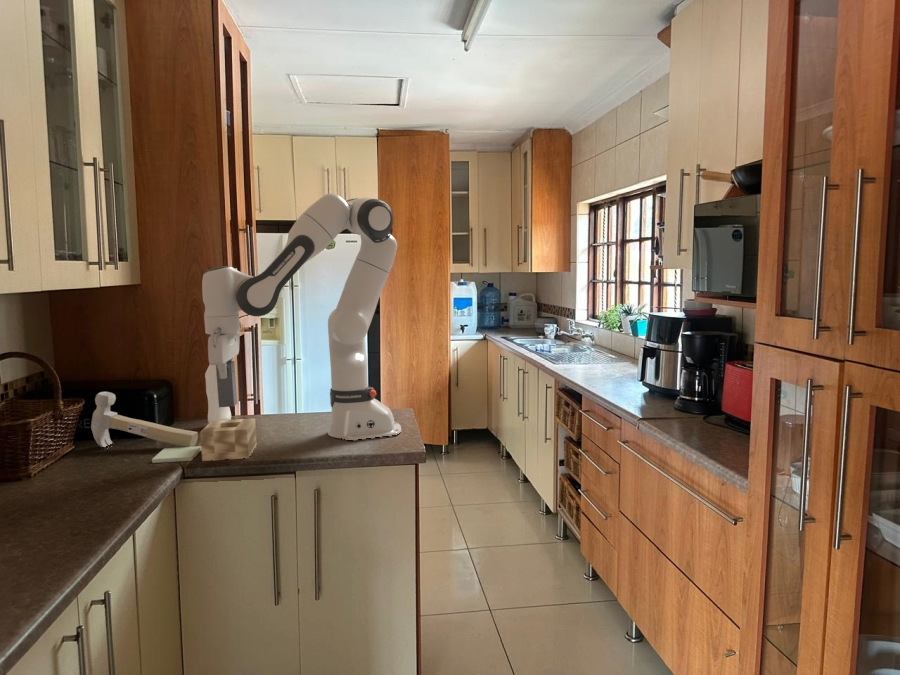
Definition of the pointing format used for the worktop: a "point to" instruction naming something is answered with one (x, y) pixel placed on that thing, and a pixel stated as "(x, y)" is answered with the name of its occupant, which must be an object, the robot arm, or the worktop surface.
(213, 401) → the water bottle
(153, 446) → the worktop surface
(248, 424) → the socket block
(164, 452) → the pad
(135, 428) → the hammer
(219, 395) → the peg
